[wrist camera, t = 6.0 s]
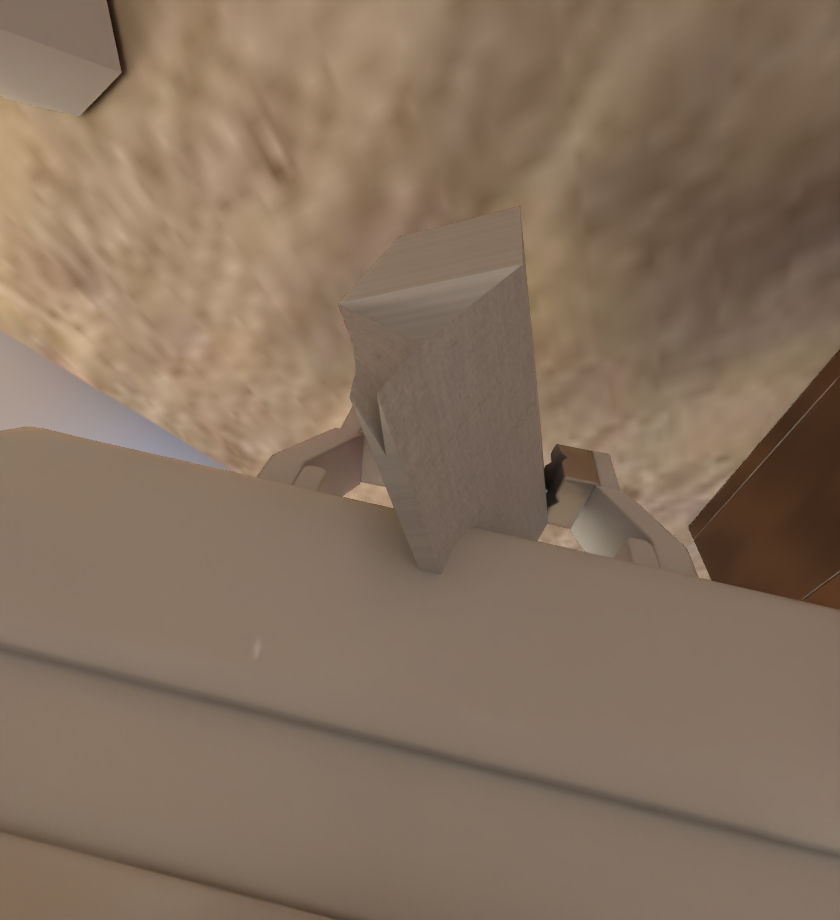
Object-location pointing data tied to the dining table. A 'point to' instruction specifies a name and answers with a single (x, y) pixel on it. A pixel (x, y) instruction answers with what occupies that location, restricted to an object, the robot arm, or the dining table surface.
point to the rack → (783, 506)
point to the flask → (56, 53)
